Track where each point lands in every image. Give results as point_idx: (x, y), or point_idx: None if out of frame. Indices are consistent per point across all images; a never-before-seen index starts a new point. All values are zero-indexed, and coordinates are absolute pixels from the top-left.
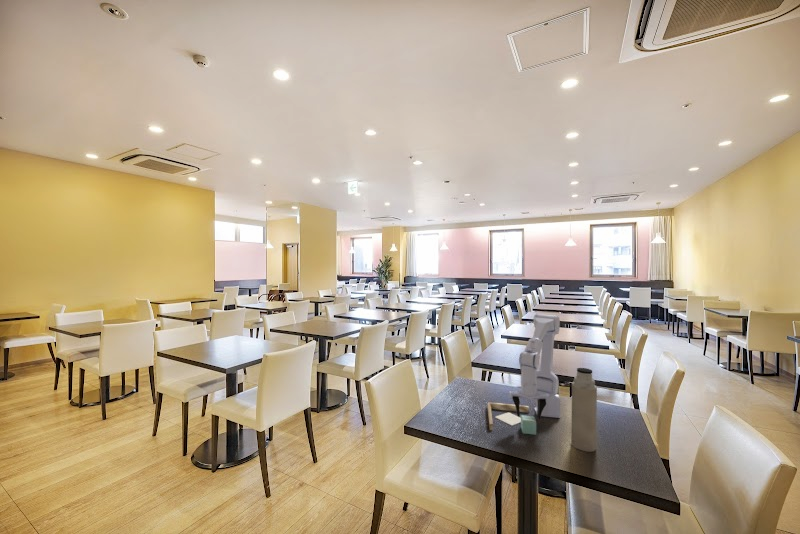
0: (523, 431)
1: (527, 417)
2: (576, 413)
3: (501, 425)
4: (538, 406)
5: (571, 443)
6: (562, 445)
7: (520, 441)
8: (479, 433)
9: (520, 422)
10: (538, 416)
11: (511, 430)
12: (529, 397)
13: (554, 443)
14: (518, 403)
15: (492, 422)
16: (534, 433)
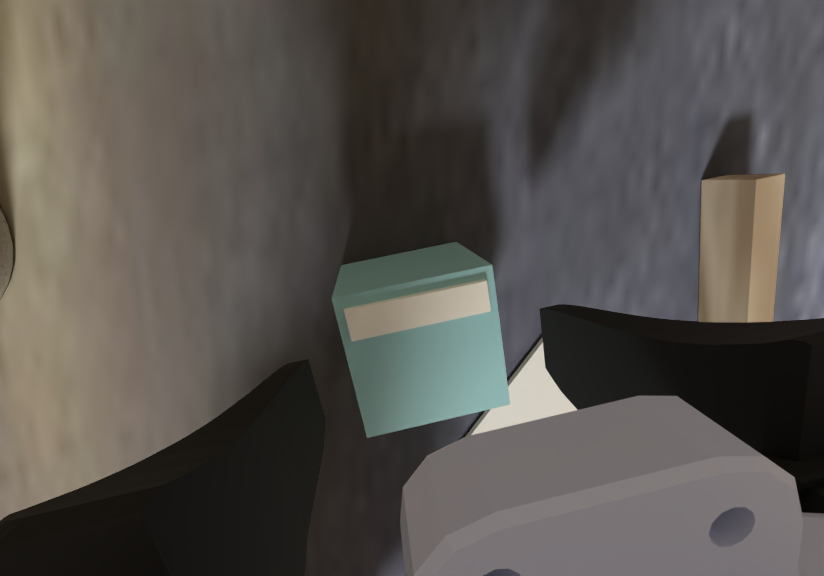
0: (452, 244)
1: (438, 379)
2: None
3: (625, 306)
4: (277, 514)
5: (5, 222)
6: (86, 150)
7: (471, 59)
8: (816, 64)
9: (476, 423)
10: (299, 368)
11: (547, 250)
12: (663, 460)
13: (164, 160)
14: (735, 336)
15: (755, 214)
16: (355, 265)
